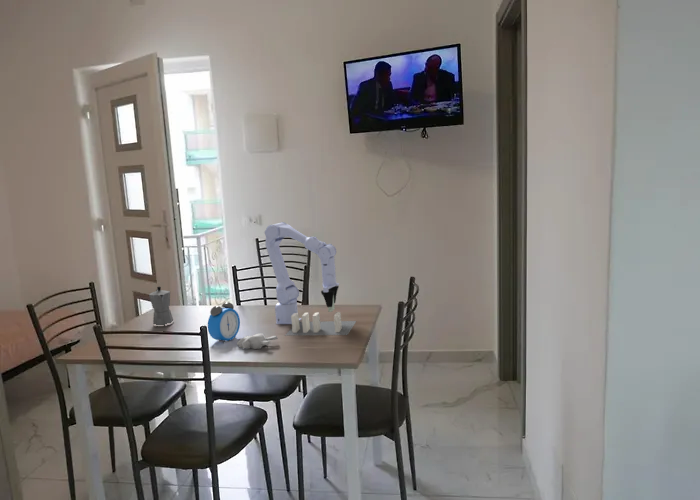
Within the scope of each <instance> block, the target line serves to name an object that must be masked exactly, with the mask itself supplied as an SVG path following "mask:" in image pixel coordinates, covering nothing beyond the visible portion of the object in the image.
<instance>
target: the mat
mask: <svg viewBox="0 0 700 500" xmlns="http://www.w3.org/2000/svg"><path fill="white" fill-rule="evenodd" d="M356 322H357V320H341V326H342V329H341V330H340V332H335V323H334V320H329V321H327V320H326V321H321V320H320V328H321V329H320V330H319V331H318V332H314V330H313V321H310V330H309V331H308V332H307V333H303V326H302V321H299V325H300V329H299V330H298V331H297V332H296V333H293V331H292V328H291V329H290V330H288V331H287V333H286V334H284V336H285V337H286V336H348V334H349V333H350V332H351V331H352V329H353V327H354V326H355V324H356Z"/></svg>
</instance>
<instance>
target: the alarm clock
mask: <svg viewBox="0 0 700 500" xmlns="http://www.w3.org/2000/svg"><path fill="white" fill-rule="evenodd" d="M209 314H210V315H209V317H208V320H207V331H208V334H209V335H210V337H211V338H212V339H214V340H216V341H223V343H224V342H229V340H230V341H232V340H233V339H235V337H236V336H237V335H238V333H239V330H240V328H241V327H240V326H241V320H240V315H239V313H238V312H237V310H236V309H235V307H234V304H233V303H232V302H230V301H227V302H223V303H222V304H221V306H220V305H215V306H213V307H212V308H211V309H210V311H209Z"/></svg>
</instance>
